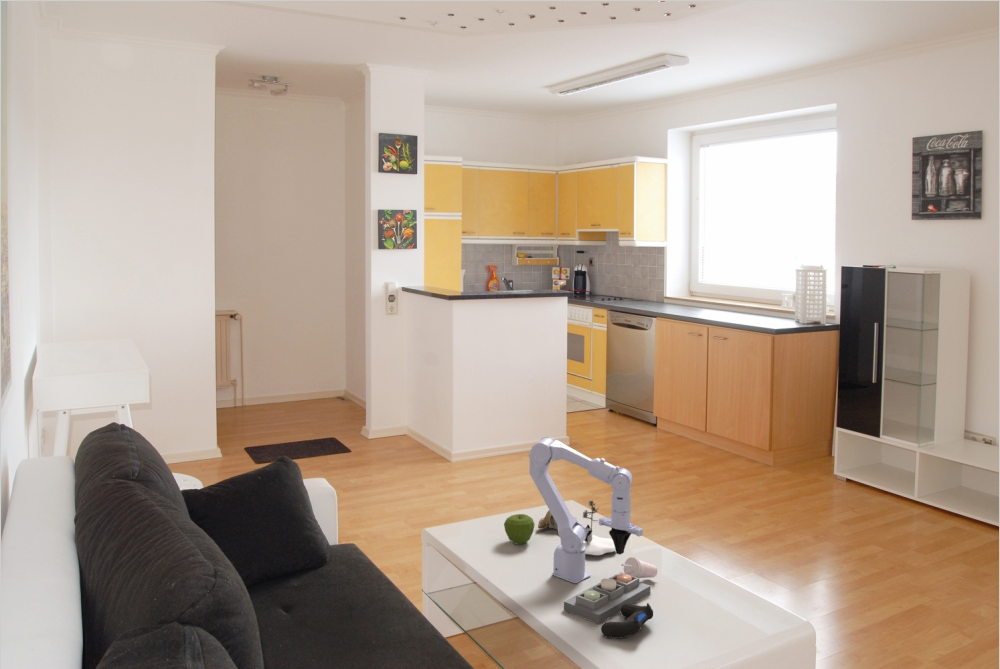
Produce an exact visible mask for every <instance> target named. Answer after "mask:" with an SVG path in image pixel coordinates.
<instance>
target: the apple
mask: <svg viewBox="0 0 1000 669" xmlns="http://www.w3.org/2000/svg"><path fill="white" fill-rule="evenodd" d="M503 526H504V531H505V534H506V536H507V538H508V540H509V541H511V542H513V543H514V544H516V545H523V544H526V543H527V542H528V541H530V539H531V538H532V536H533V532H534V529H535V520H534V519H533V518H532V517H531V516H529V515H528V514H525V513H524V514H523V513H519V514H518V513H517V514H513V515H511V516H509V517H507V518H506V519H505V521H504V523H503Z"/></svg>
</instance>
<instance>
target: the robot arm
mask: <svg viewBox="0 0 1000 669" xmlns="http://www.w3.org/2000/svg"><path fill="white" fill-rule="evenodd" d="M528 458H529V475H530V477H531V479H532V480H533V483H534V485H535V486H536V489H537V490H538V491H539V494H540V495H541V496H542V499H543V501H544V503H545V505H546V506H547V509H548V511H549V510H550V512H551V514H552V516H553V517H554V519H555V521H556V523H557V527H558V529H557V534H558V536H559V538H560V544H559V545H557V546H556V548H555V550H554V553H553V572H552V573H551V576H553V575H554V576H553V577H557V578H559V579H562V580H565V581H567V582H570V583H573V584H577V583H581V582H582V581H583V580H585V579H587V578H589V577H591V574H590V573H587V572H586V554H585V546H584V543H583V541H584V540H585V538H586V536H587V532H586V529H585V528H586V527H585V526H584V525H583V524H581V523H580V522H579V521H578V519H577V518H576V517H575V516H573V515H572V513H571V512H570V510H569V508H568V506H567V504H566V502H565V501H564V498H563V497H562V495H561V493H560V491H559V489H558V487H557V486H556V484H555V482H554V480H553V479H552V477H551V474H550V473H549V471H548V469H549V467H550V464H551V461H552V462H554V461H559V460H564V461H567V462H568V463H572V464H574V465H575V466H578V467H580V468H583V469H584V470H585V469H586V470H587V472H588V474H589V476H591V477H594V478H595V479H597V480H599V481H601V482H603V483H604V484H605V483H606V484H607V485H610V487H611V488H612V492H611V512H610V513H611V516H610V518H607V517H601V518H599V519H598V525H599V526H605V527H608V528H611V529H610V530H609V532H608V534H609V535H610V537H611V539H612V540H613V542H614V545H615V549H616V550H615V553H616V554H618V555H622V554H624V553H625V548H626V545H627V542H628V540H629V539H630V536H631V535H635V536H637V537H639V538H640V537H642V536H643V535H644V529H643V528H642V527H639V526H637V525H635V524H633V523H631V511H632V510H631V509H632V508H631V507H632V494H631V493H632V490H631V489H632V488H631V484H632V483H633V475H632V472H631V471H630V470H629V469H627V468H626V467H620V466H618V465H616V466H615V465H613V464H611V463H609V462H607V461H606V459H605V458H604V457H601V458H598V457H595V458H593V459H592V458H591V457H589V456H587V455H584V454H583V453H581V452H579V451H578V450H575V449H574V448H571V447H570V446H568V445H566V444H565V443H564V442H561V441H560V440H558V439H556V440H555V439H554V438H553V437H551V436H544V437H541V439H540V440H539V441H538V442H537V443H535V444H534V445H533V446H532V447H531V449H530V451H529V454H528Z"/></svg>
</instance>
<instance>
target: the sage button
mask: <svg viewBox="0 0 1000 669" xmlns="http://www.w3.org/2000/svg"><path fill="white" fill-rule="evenodd" d="M584 598H587V599H589V600H592V601H596V600H597V599H599V598H600V593H599V592H597V591H586V592H585V593H584Z"/></svg>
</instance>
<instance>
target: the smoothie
mask: <svg viewBox="0 0 1000 669" xmlns="http://www.w3.org/2000/svg"><path fill="white" fill-rule="evenodd" d="M621 566H622V567H623V573H625V574H628V575H631V576H634V577H637V578H639V579H649V578H651V579H652V578H655V577H657V575H658V568H657V566H656V565H655V564H652V563H648V562H646V561H643V560H641V559H639V558H637V557H632V556H631V557H628V558H627V559H626V560H625V561H624V563H621Z"/></svg>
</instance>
